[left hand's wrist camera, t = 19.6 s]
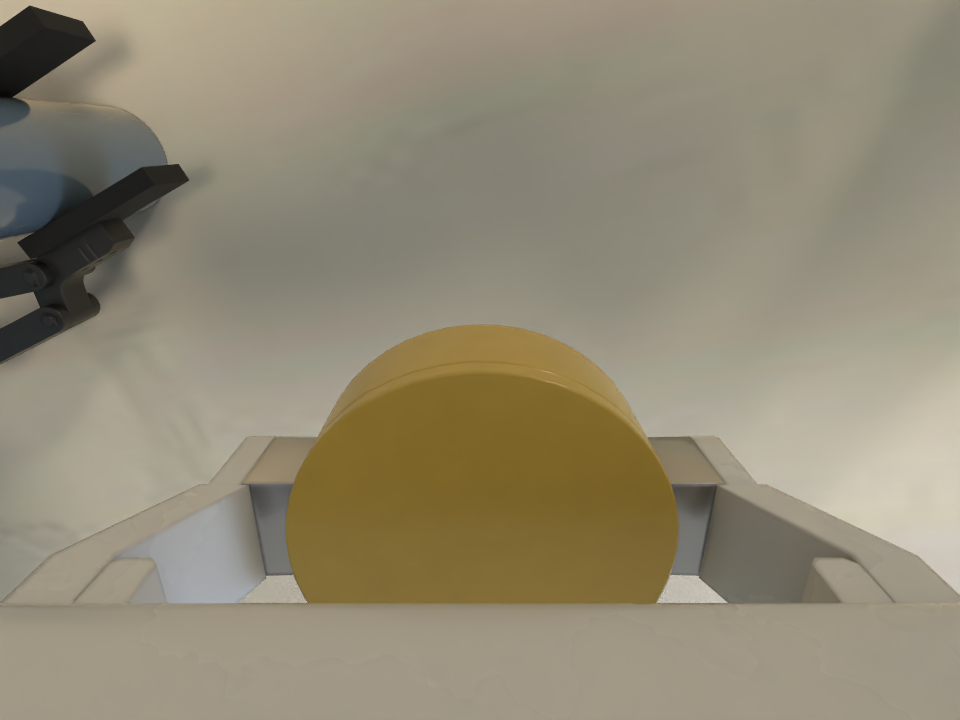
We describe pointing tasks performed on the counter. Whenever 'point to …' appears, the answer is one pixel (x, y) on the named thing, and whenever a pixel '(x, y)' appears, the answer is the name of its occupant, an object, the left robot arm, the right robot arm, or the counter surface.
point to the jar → (64, 158)
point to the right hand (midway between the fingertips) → (117, 103)
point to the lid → (481, 481)
